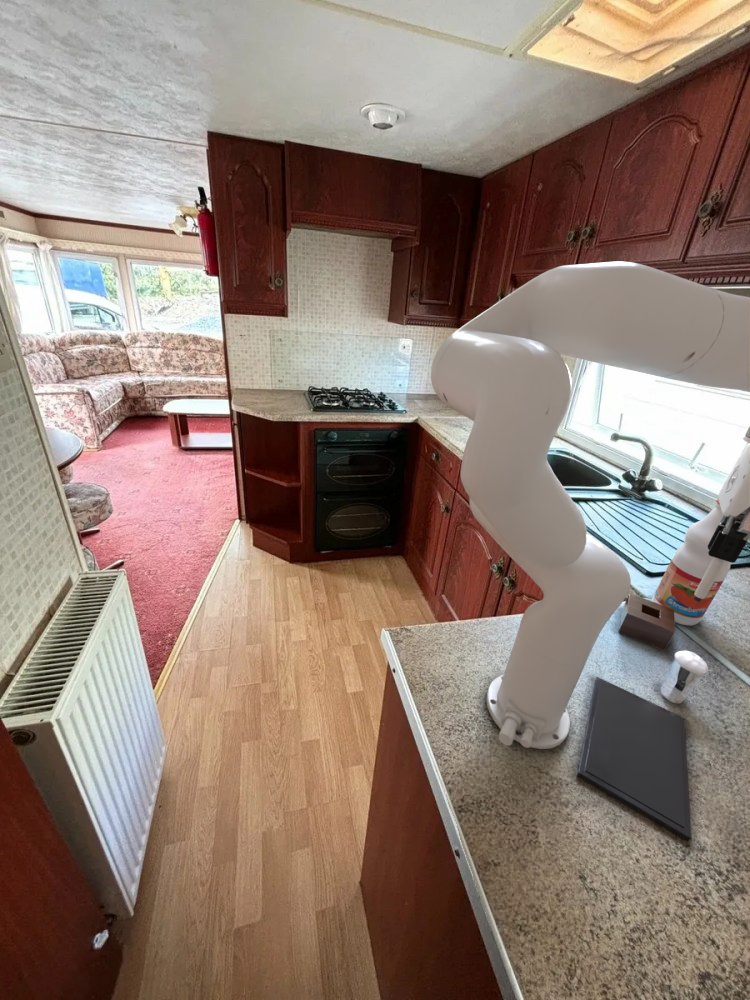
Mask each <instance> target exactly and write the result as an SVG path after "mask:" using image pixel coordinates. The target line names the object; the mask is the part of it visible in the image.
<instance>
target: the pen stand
mask: <svg viewBox="0 0 750 1000" xmlns="http://www.w3.org/2000/svg"><path fill="white" fill-rule="evenodd" d="M675 623H676V622H675V621H674V609H671V608H668V607H666V606H663V605H660V604H658V603H655V602H652V600H649V599H647V598H644V597H641V596H639V595H636V594H633V593H628V595H627V597H626V599H625V602H624V605H623V606H622V609H621V613H620V618H619V624H618V633H620V634H623V635H624V636H627V637H629V638H632V639H635V640H637V641H640V642H641V643H645V644H646V645H649V646H651V647H653V648H656V649H658V650H661V651H663V652H664V651H666V649H667V648H668V646H669V645H670V642H671V640H672V638H673V637H674V635H675V633H676V627H675V626H676V624H675Z"/></svg>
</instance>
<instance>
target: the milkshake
mask: <svg viewBox="0 0 750 1000" xmlns="http://www.w3.org/2000/svg"><path fill="white" fill-rule="evenodd" d="M716 669H717V668H716V667H715V668H712V669H710V670H709V667H708V664H707V663H706V661H705V660H704V659H703V658H702V657H701V656H699V655H698V654H696V653H695V652H693V651H690V650H679V651H677V652H675V653H674V656H673V658H672V661H671V664H670V666H669V668H668V671H667V673H666V675H665V678H664V680H663V682H662V684H661V687H660V693H661V696H663V698H665V699H666V700H667V701H669V702H670V703H672V704H681V703H683V701H684V700H685V699H686V698H687V696H688V695H689V694H690V692H691V691H692V690H693V689H694V687H696V685H697V684H698V683H699V682H701V680H702V679H703V678H704V677H705V675H706V674H707V673H709V672H712V671H714V670H716Z"/></svg>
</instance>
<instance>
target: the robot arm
mask: <svg viewBox="0 0 750 1000" xmlns="http://www.w3.org/2000/svg"><path fill="white" fill-rule="evenodd" d="M562 356H565V357H571V358H575V359H580V360H584V361H588V362H590V363H591V362H592V363H595V364H596V363H597V364H601V365H604V366H605V365H606V366H609V367H614V368H619V369H622V370H623V369H624V370H627V371H633V372H638V373H642V374H646V375H650V376H651V375H652V376H656V377H659V378H660V377H661V378H664V379H668V380H672V381H678V382H684V383H688V384H693V385H699V386H702V387H709V388H717V389H727V390H737V391H741V392H742V391H743V392H748V393H750V297H749V296H744V295H738V294H735V293H730V292H727V291H722V290H718V289H716V288H713V287H711V286H707V285H704V284H701V283H699V282H695V281H692V280H689V279H686V278H683V277H681V276H678V275H675V274H673V273H670V272H666V271H663V270H660V269H658V268H656V267H655V268H654V267H652V266H648V265H645V264H641V263H637V262H633V261H632V262H631V261H605V262H594V263H593V262H592V263H578V264H567V265H559V266H557V267H556V266H555V267H554V268H551V269H548V270H546V271H545V272H542V273H541V274H539V275H537V276H535V277H534V278H532V279H530V280H528V281H527V282H526V283H524V284H523V285H521V286H519V287H518V288H516V289H515V290H514V291H512V292H510V293H509V294H508V295H506V296H505V297H504V298H502V299H500V300H498V302H496V303H494V304H493V305H492V306H490V307H489V308H488V309H486V310H485V311H483V312H481V313H480V314H478V315H477V316H476V317H474V318H473V319H471V320H469V321H468V322H467V323H465V324H464V325H462V326H461V327H460V328H458V329H456V330H455V331H454V332H452V333H451V334H450V335H449V336H448V337H447V338H446V339H445V340H444V341H443V342H442V343H441V345H440V346H439V348H438V349H437V351H436V353H435V355H434V357H433V359H432V362H431V367H430V380H431V385H432V389H433V391H434V392H435V394H436V395H437V397H438V399H439V400H440V401H442V402H443V403H444V404H445V405H446V406H447V407H449V408H450V409H451V410H454V411H456V412H457V413H459V414H461V415H463V416H464V417H466V418H468V419H469V420H471V421H472V422H473V424H472V427H471V430H470V433H469V435H468V438H467V441H466V444H465V447H464V450H463V455H462V460H461V463H460V481H461V485H462V487H463V489H464V491H465V493H466V494H467V495H468V497H469V498H468V502H469V507H470V511H471V513H472V516H473V517H474V519H475V520H476V522H478V523H479V524H480V526H481V527H482V528H483V529H484V530H485V532H486V533H488V535H490V537H491V538H492V539H493V540H494V542H496V543H497V544H498V546H499V547H500V548H501V549H502V550H503V551H504V552H505V553H506V554H507V556H508V557H510V559H512V560H513V561H514V563H516V565H518V566H519V567H520V568H521V570H523V571H524V572H525V573H526V574H527V575H528V576H529V577H530V578H531V580H532V581H533V582H534V583H535V585H537V586H538V587H539V588H540V590H541V592H542V593H543V596H542V597H543V598H542V599H540V600H538V601H535V602H533V603H532V604H530V605H528V607H527V608H526V609H525V610H524V612H523V614H522V617H521V620H520V623H519V627H518V630H517V633H516V636H515V639H514V643H513V645H512V649H511V652H510V654H509V658H508V660H507V664H506V667H505V670H504V672H503V674H501V675H498V676H497V677H496V678H494V679H493V680H492V681H491V682H490V684H489V686H488V689H487V691H486V698H485V699H486V706H487V710H488V713H489V714H490V716H491V718H492V720H493V721H494V723H495V724H496V726H497V727H498V728H499V729H500V731H499V734H498V740H499V741H500V743H502V745H505V746H506V747H507V746H511V745H513V742H514V741H515V742H517V743H519V744H520V745H521V746H522V747H524V748H525V749H529V748H533V749H538V750H547V749H553V748H556V747H558V746H560V745H561V744H562V743H564V742H565V740H566V738H567V737H568V735H569V732H570V728H571V718H570V714H569V712H568V708H567V707H568V704H569V702H570V700H571V697H572V695H573V693H574V691H575V688H576V686H577V684H578V682H579V679H580V677H581V675H582V673H583V671H584V668H585V666H586V663H587V662H588V659H589V657H590V655H591V653H592V650H593V648H594V646H595V644H596V642H597V640H598V638H599V637H600V634H601V633H602V630H603V629H604V627H605V626H606V624H607V623H608V621H609V620H610V619H611V618H612V616H613V615H614V613H616V611H617V610H618V608H619V607H620V606H621V605H622V604H623V603H624V601H625V600H626V599H627V597H628V595H629V592H630V589H631V584H632V580H631V575H630V572H629V570H628V568H627V566H626V564H625V563H624V562H623V561H622V559H620V557H618V555H617V554H615V553H614V552H613V551H612V550H611V549H610V548H609V547H607V546H606V545H605V544H603V543H602V542H600V541H599V540H597V539H596V538H594V536H592V535H590V534H589V533H588V531H587V530H588V529H587V524H586V522H585V518H584V517H583V514H582V512H581V510H580V508H579V507H578V505H577V504H576V503H575V501H574V500H573V498H572V497H571V496H570V494H569V493H568V491H567V489H565V487H564V486H563V484H562V483H561V481H560V480H559V479H558V476H557V475H556V474H555V473H554V470H553V469H552V466H551V465H550V463H549V460H548V453H549V450H550V447H551V445H552V442H553V440H554V438H555V435H556V434H557V432H558V429H559V428H560V427H561V424H562V422H563V421H564V418H565V416H566V414H567V411H568V408H569V405H570V401H571V396H572V376H571V373H570V369H569V367H568V363H566V361H565V360H564V358H563V357H562ZM742 440H743V441H744V442H746V443H747V444H746V446H745V447H744V448H743V450H742V452H741V454H740V455H739V457H738V458H737V461H736V462H735V463H734V466H733V468H732V470H731V471H730V473H729V475H728V477H727V478H726V480H725V482H724V484H723V485H722V487H721V489H720V491H719V493H718V497H719V503H720V507H721V510H722V513H723V514H724V516H723V518H722V520H721V522H720V525H718V526H717V528H716V530H715V532H714V534H713V536H712V538H711V540H710V542H709V544H708V549H709V552H708V554H709V556H712V557H715V558H718V559H721V560H725V561H728V562H730V564H734V563H736V562H737V560H738V558H739V557H740V555H741V553H742V552H743V550H744V548H745V546H746V545H747V542H748V541H749V539H750V425H749V426H748V428H747V430H746V432H745V434H744V436H743V438H742ZM735 521H739V522H741V523H739V522H736V523H735ZM734 523H735V524H734ZM721 525H723V526H721Z"/></svg>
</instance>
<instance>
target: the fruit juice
mask: <svg viewBox="0 0 750 1000" xmlns="http://www.w3.org/2000/svg"><path fill="white" fill-rule="evenodd" d="M714 504H715V506H714V508H713V509H711V511H710V512H708V514H707V515H706V516H704V517H703V518H701V519H700V520H698V521H696V522H694V523H692V524H690V526H689V527H688V528H687V530H686V531H685V534H684V540H683V541H684V542H683V543H682V544H681V545H679V547H677V549H676V550H675V552H674V553H673V555H672V558H671V560H670V562H669V564H668V566H667V568H666V569H665V572H664V574H663V576H662V578H661V580H660V581H659V584H658V586H657V587H656V590H655V592H654V593H653V596H652V598H651V601H652V602H655V603H658V604H660V605H663V606H666V607H668V608H671V609H674V621H675V623H676V624H679V625H683V626H695V625H698V624H699V623H700V622H701V621H702V619H703V617H704V615H705V614H706V612H707V610H708V609H709V607H710V606H711V604H712V602H713V600H714V598H715V596H716V595H717V593H718V591H719V590H720V588H721V586H722V585H723V583H724V581H725V580H726V578H727V576H728V574H729V572H730V571H731V570H730V569H731V562H728V561H725V563H724V565H723V567H722V568H721V570H720V572H719V574H718V576H717V577H716V579H715V581H714V583H713V585H712V586H711V588H710V590H709V592H708V593H707V595H706V597H705V598H704V599H702V600H701V602H698V601H695V600H694V597H695V595H694V593H695V591H696V589H697V588H698V586H699V584H700V582H701V580H702V578H703V576H704V575H705V573H706V571H707V569H708V567H709V565H710V563H711V562H712V560H713V558H714V557H712V556H709V554H708V552H709V549H708V544H709V542H710V540H711V538H712V536H713V534H714V532H715V530H716V528H717V526H718V525H720V522H721V520H722V518H723V516H724V514H723V513H722V510H721V507H720V503H719V496H717V498H716V500H715V502H714ZM721 526H723V525H721Z"/></svg>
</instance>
